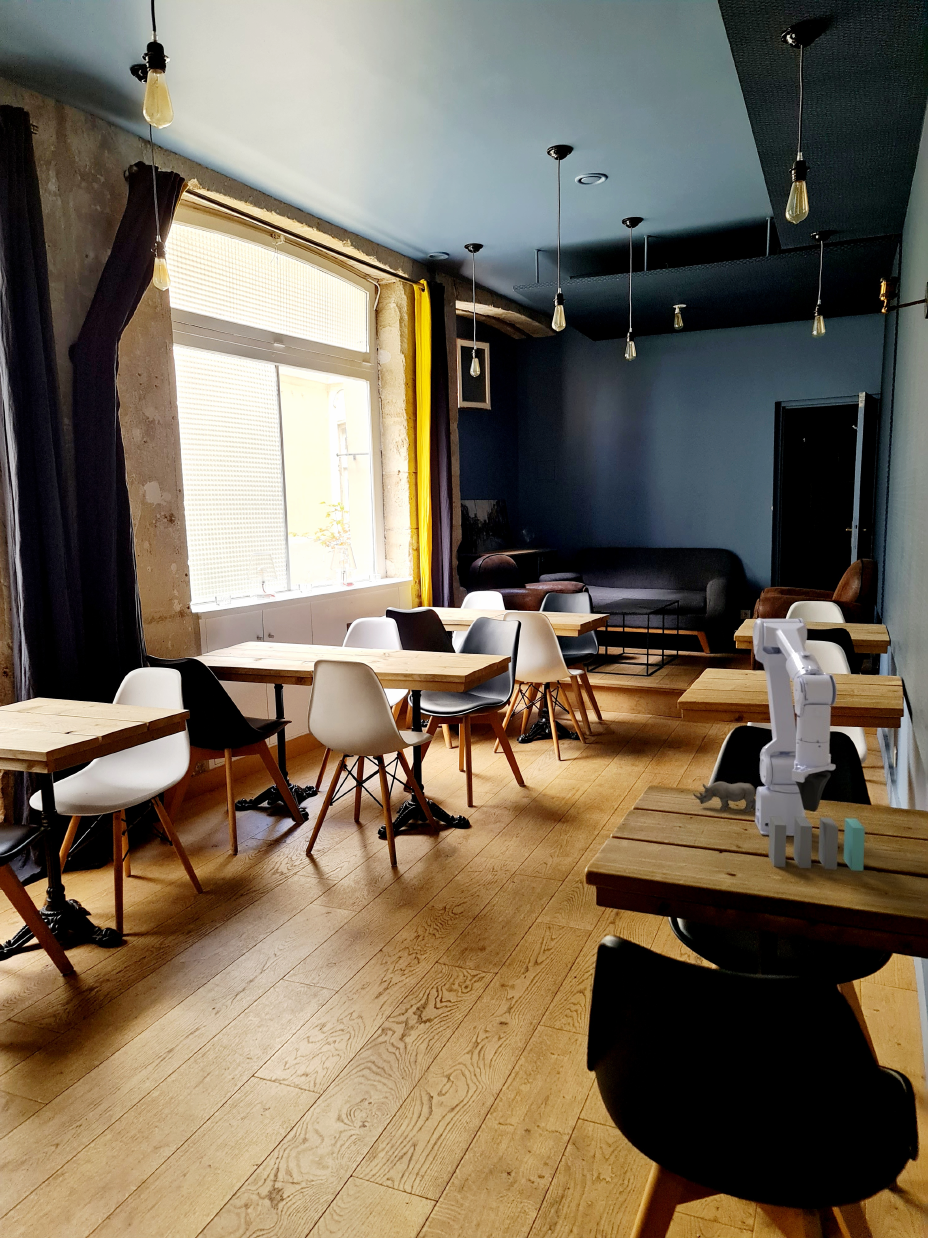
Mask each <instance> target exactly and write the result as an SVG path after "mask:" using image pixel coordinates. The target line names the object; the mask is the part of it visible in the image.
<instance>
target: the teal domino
mask: <svg viewBox="0 0 928 1238" xmlns="http://www.w3.org/2000/svg"><path fill="white" fill-rule="evenodd" d="M865 828H866V827H864V826H863V824H861V822H860V821H859V819H857V818H848V817H847V818H844V838H843V839H844V841H843V861H844V862H845V864H847V866H848V868H849V869H850V870H851V871H856V872H857V871H858V872H859V871H861V872H862V871H864V860H865V859H864V857H865V856H864V855H865V834H866V833H865V832H866V829H865Z"/></svg>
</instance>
